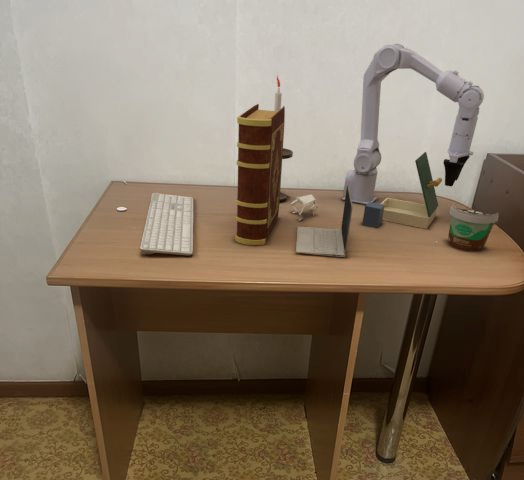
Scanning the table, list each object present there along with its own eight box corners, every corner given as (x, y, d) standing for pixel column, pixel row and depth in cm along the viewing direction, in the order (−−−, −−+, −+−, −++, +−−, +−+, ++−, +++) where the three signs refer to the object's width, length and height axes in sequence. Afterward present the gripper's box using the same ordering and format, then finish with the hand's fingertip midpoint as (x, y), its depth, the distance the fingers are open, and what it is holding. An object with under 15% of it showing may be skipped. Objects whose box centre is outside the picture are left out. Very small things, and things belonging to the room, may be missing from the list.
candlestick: (248, 196, 166) (252, 74, 147) (273, 191, 173) (280, 72, 153) (271, 205, 160) (278, 78, 140) (296, 199, 166) (306, 77, 147)
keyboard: (192, 257, 125) (192, 248, 123) (140, 257, 123) (139, 248, 122) (193, 199, 161) (193, 192, 160) (153, 199, 160) (152, 191, 158)
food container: (437, 246, 138) (446, 209, 132) (442, 239, 142) (451, 203, 137) (486, 256, 133) (497, 219, 128) (489, 249, 138) (500, 212, 132)
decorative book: (263, 247, 132) (269, 120, 116) (233, 243, 133) (235, 117, 117) (279, 218, 151) (286, 105, 134) (252, 215, 152) (256, 103, 135)
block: (362, 224, 149) (365, 205, 146) (366, 220, 153) (369, 201, 150) (377, 227, 148) (380, 208, 145) (381, 223, 151) (384, 204, 148)
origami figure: (289, 208, 158) (290, 192, 156) (316, 210, 158) (318, 194, 156) (289, 222, 148) (290, 205, 146) (318, 223, 148) (320, 206, 146)
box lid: (415, 160, 141) (429, 156, 139) (424, 152, 150) (438, 148, 148) (428, 217, 147) (442, 214, 145) (436, 205, 156) (450, 202, 154)
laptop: (297, 228, 144) (301, 181, 137) (342, 232, 144) (348, 184, 136) (295, 254, 129) (299, 202, 122) (345, 258, 129) (353, 206, 121)
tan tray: (374, 218, 154) (375, 208, 152) (385, 207, 163) (386, 197, 162) (426, 229, 149) (429, 218, 147) (434, 217, 158) (437, 206, 156)
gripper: (473, 140, 140) (460, 191, 147) (481, 132, 150) (468, 179, 158) (447, 136, 142) (435, 186, 150) (456, 128, 153) (445, 175, 160)
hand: (451, 182), depth 154 cm, fingers open, 7 cm apart
